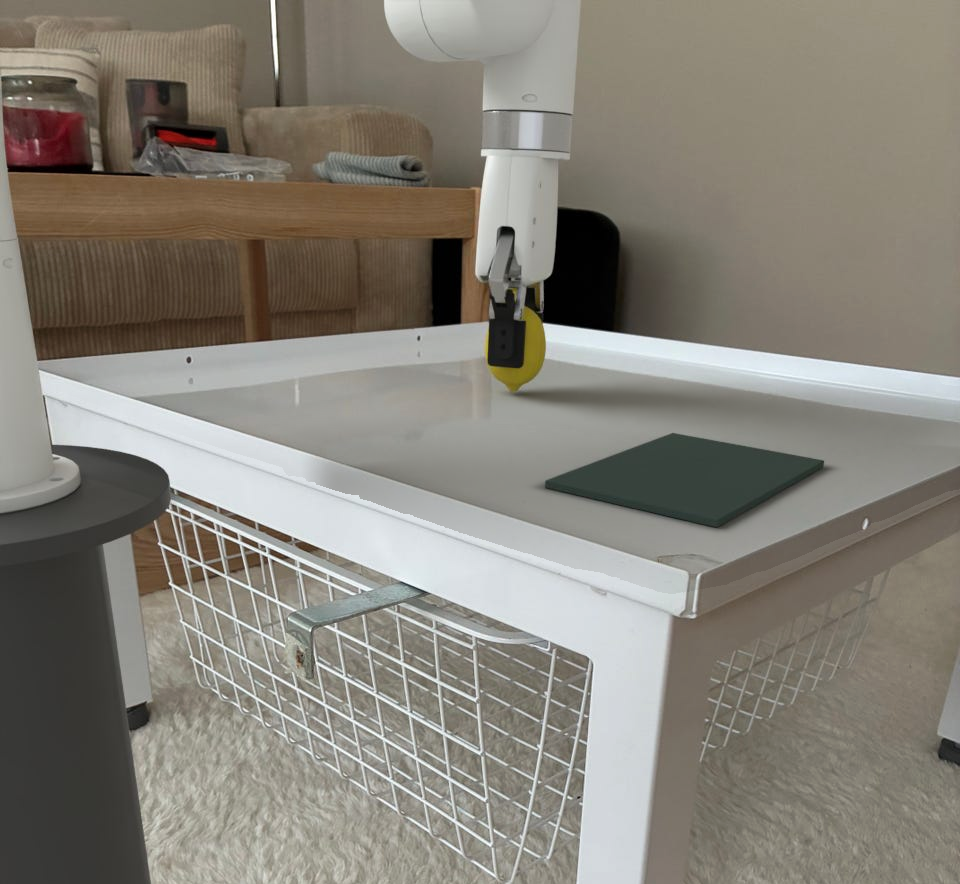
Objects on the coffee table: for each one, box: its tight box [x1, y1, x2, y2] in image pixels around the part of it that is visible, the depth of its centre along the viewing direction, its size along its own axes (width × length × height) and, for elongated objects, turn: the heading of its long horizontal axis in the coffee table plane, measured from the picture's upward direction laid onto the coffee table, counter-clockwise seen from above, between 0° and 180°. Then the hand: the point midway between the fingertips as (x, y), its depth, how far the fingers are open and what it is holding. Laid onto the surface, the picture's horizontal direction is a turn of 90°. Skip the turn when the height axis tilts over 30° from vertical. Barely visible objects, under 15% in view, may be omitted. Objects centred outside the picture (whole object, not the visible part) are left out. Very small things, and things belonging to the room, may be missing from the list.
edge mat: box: [544, 432, 825, 528], centre depth 67 cm, size 18×12×1 cm, turn 143°
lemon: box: [484, 306, 547, 393], centre depth 89 cm, size 6×6×8 cm
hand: (514, 359), depth 89 cm, fingers closed on lemon, 5 cm apart
